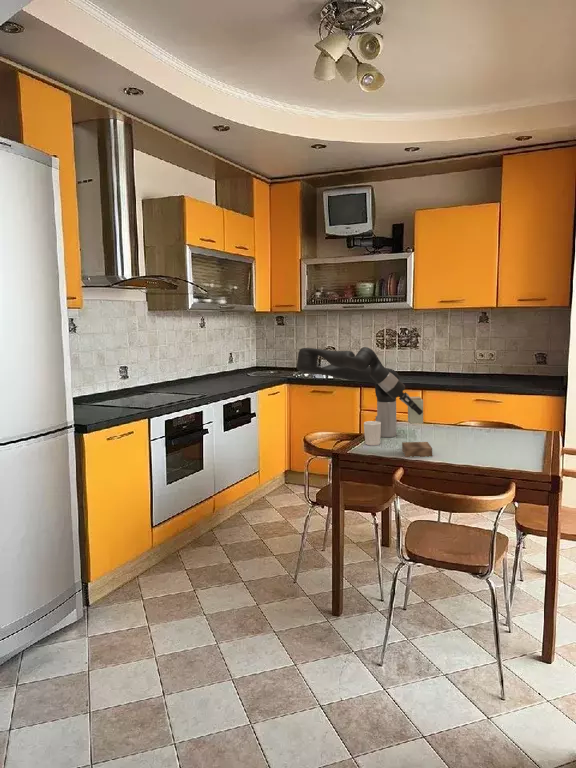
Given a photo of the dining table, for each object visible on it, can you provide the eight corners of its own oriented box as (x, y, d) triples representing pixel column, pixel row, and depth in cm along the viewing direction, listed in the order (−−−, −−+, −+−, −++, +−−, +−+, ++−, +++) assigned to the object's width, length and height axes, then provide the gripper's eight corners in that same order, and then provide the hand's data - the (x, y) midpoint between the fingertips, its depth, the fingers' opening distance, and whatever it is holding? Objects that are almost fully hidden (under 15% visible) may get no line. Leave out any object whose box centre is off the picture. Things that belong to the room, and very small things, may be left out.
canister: (410, 423, 241) (410, 398, 240) (407, 421, 247) (407, 396, 245) (423, 423, 241) (423, 398, 240) (420, 420, 246) (420, 396, 245)
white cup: (364, 445, 261) (363, 424, 260) (364, 441, 269) (363, 421, 268) (381, 445, 260) (381, 424, 259) (381, 441, 268) (380, 420, 267)
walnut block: (405, 457, 241) (405, 448, 240) (402, 451, 251) (402, 442, 251) (432, 457, 240) (432, 448, 239) (427, 450, 251) (427, 441, 250)
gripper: (382, 389, 249) (410, 415, 251) (387, 394, 235) (417, 421, 236) (394, 376, 248) (422, 402, 250) (400, 381, 234) (429, 408, 236)
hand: (419, 411), depth 243 cm, fingers closed on canister, 5 cm apart
